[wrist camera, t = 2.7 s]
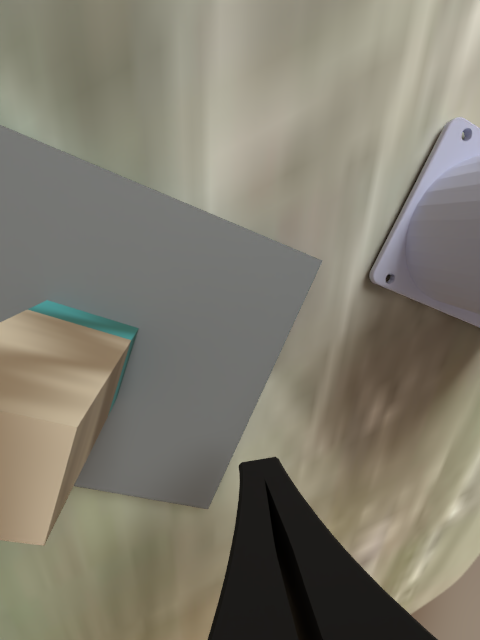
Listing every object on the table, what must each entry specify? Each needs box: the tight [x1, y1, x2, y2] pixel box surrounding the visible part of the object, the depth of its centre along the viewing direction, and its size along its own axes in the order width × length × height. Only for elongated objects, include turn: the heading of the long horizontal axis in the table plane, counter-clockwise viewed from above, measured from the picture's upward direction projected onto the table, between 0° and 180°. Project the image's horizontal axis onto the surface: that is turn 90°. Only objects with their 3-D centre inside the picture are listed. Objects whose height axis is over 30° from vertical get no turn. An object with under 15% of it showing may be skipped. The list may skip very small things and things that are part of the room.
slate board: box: [0, 125, 322, 509], centre depth 13 cm, size 22×16×1 cm
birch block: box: [0, 300, 139, 545], centre depth 10 cm, size 4×4×7 cm
